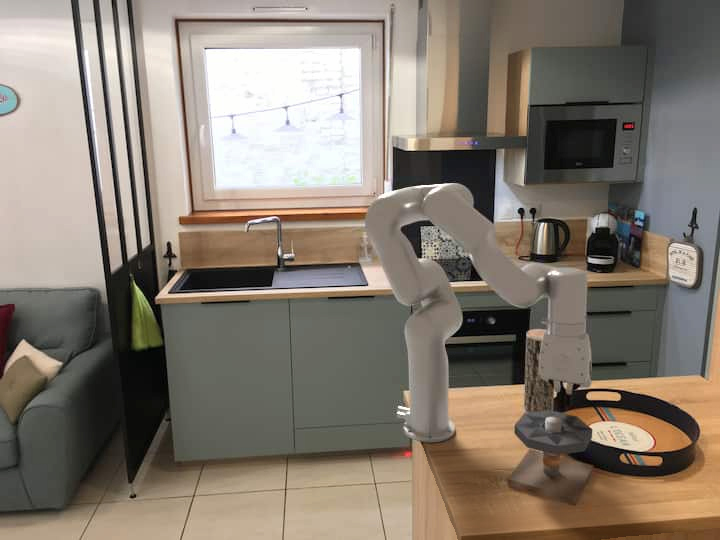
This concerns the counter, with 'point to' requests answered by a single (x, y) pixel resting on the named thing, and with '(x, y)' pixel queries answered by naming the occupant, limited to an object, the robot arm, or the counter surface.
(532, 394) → the bark-covered log
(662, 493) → the counter surface
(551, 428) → the pipe stand
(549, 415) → the grey octagonal disc
